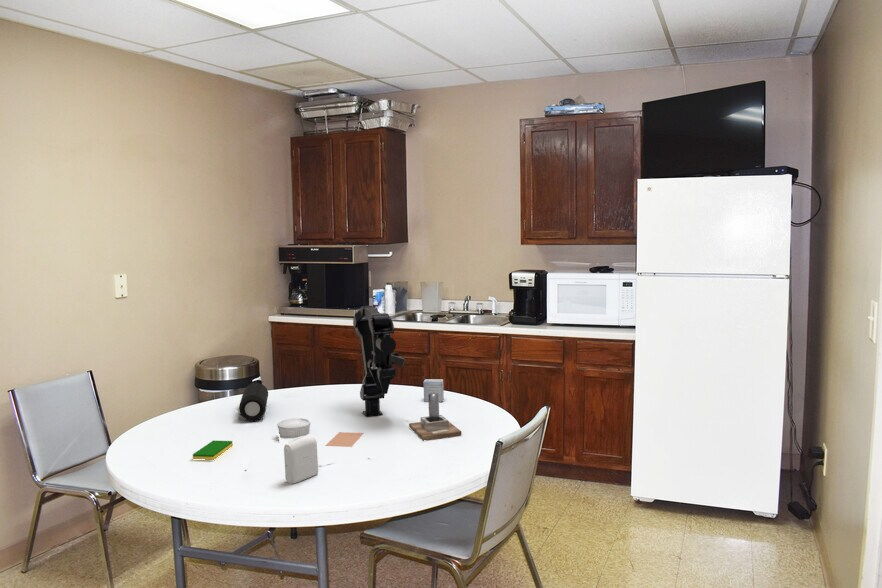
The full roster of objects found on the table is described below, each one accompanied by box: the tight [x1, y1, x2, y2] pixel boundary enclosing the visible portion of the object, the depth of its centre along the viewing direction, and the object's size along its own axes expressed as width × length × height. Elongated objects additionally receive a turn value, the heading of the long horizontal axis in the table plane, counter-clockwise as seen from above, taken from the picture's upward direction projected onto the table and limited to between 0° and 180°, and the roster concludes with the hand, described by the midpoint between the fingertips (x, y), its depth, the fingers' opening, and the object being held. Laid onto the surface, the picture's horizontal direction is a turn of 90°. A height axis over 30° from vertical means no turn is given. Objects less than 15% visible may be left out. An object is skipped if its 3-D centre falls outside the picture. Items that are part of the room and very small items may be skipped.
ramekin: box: [276, 417, 311, 438], centre depth 231 cm, size 11×11×5 cm
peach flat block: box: [325, 431, 364, 448], centre depth 223 cm, size 14×9×2 cm, turn 170°
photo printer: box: [283, 434, 319, 485], centre depth 193 cm, size 10×4×12 cm, turn 140°
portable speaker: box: [238, 382, 269, 422], centre depth 261 cm, size 26×10×10 cm, turn 12°
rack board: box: [408, 414, 462, 442], centre depth 234 cm, size 16×14×4 cm
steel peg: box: [427, 393, 440, 422], centre depth 233 cm, size 4×4×12 cm
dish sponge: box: [192, 439, 234, 461], centre depth 217 cm, size 7×14×2 cm, turn 172°
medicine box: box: [423, 378, 445, 403], centre depth 274 cm, size 8×4×9 cm, turn 84°
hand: (382, 390), depth 241 cm, fingers open, 9 cm apart
